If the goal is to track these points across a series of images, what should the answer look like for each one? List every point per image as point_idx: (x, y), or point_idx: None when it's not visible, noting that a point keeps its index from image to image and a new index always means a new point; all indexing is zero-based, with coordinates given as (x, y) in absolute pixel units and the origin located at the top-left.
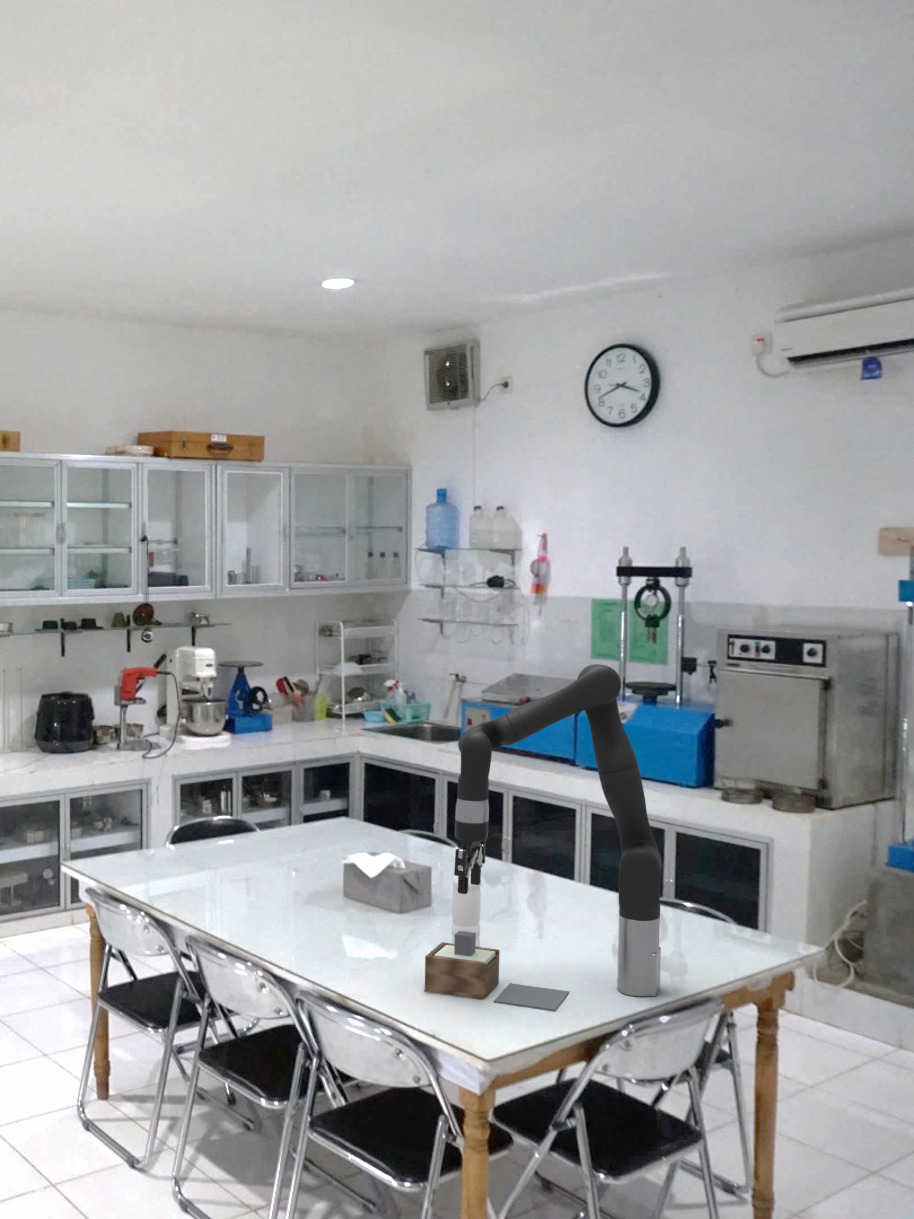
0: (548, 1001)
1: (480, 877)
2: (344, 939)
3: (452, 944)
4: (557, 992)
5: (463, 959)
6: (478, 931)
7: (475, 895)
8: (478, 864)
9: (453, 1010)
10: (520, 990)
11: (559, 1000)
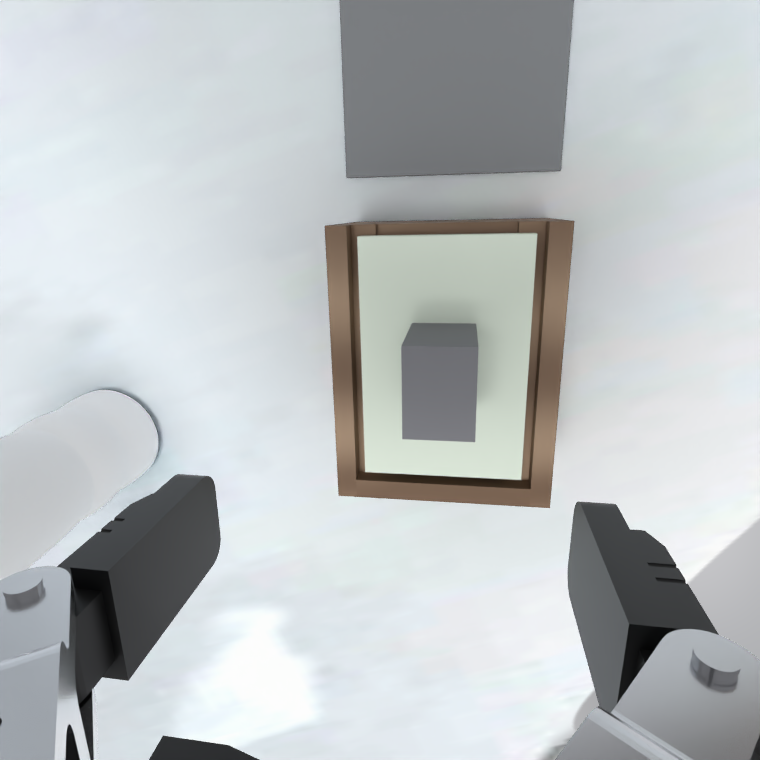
0: None
1: (146, 504)
2: None
3: (349, 448)
4: None
5: (529, 343)
6: (59, 417)
7: None
8: (74, 644)
9: (690, 290)
10: (409, 104)
11: None
